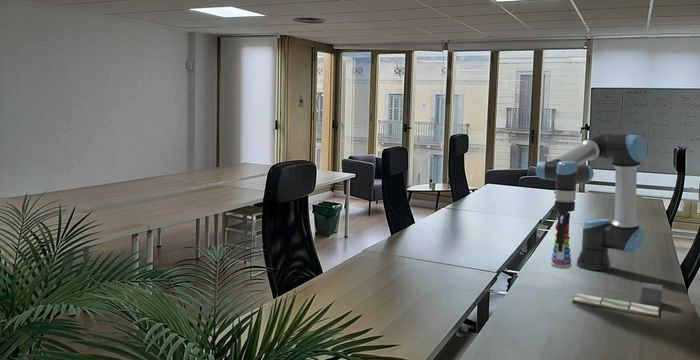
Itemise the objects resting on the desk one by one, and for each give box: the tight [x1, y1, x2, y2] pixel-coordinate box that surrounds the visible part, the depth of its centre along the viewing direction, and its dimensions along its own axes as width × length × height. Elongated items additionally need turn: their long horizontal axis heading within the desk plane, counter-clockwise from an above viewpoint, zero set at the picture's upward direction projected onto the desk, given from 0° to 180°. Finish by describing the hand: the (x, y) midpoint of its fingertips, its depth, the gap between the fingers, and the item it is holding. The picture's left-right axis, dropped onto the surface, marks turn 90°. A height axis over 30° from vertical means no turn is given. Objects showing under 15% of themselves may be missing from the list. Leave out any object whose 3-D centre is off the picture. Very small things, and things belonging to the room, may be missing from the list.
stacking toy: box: [550, 221, 573, 270], centre depth 232 cm, size 8×8×19 cm
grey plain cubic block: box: [639, 282, 663, 308], centre depth 228 cm, size 7×7×7 cm
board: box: [571, 293, 660, 319], centre depth 224 cm, size 11×30×1 cm, turn 61°
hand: (561, 256), depth 233 cm, fingers closed on stacking toy, 7 cm apart
